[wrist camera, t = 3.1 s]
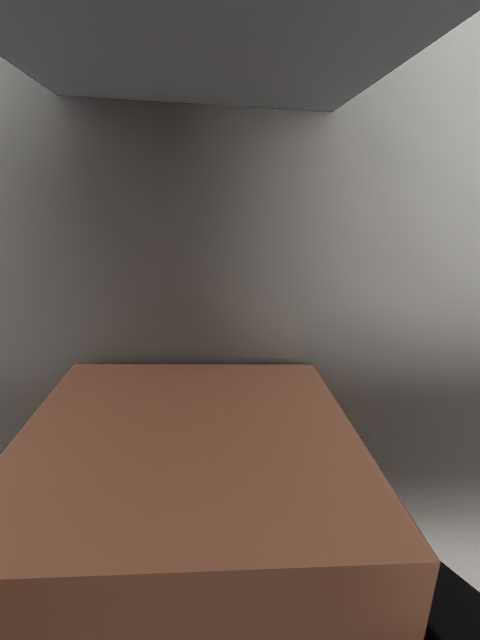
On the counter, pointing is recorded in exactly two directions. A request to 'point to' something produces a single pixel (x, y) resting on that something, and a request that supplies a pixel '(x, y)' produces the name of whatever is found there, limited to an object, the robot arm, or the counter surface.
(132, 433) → the terracotta cube
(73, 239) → the counter surface
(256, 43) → the slate cube
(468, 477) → the counter surface
